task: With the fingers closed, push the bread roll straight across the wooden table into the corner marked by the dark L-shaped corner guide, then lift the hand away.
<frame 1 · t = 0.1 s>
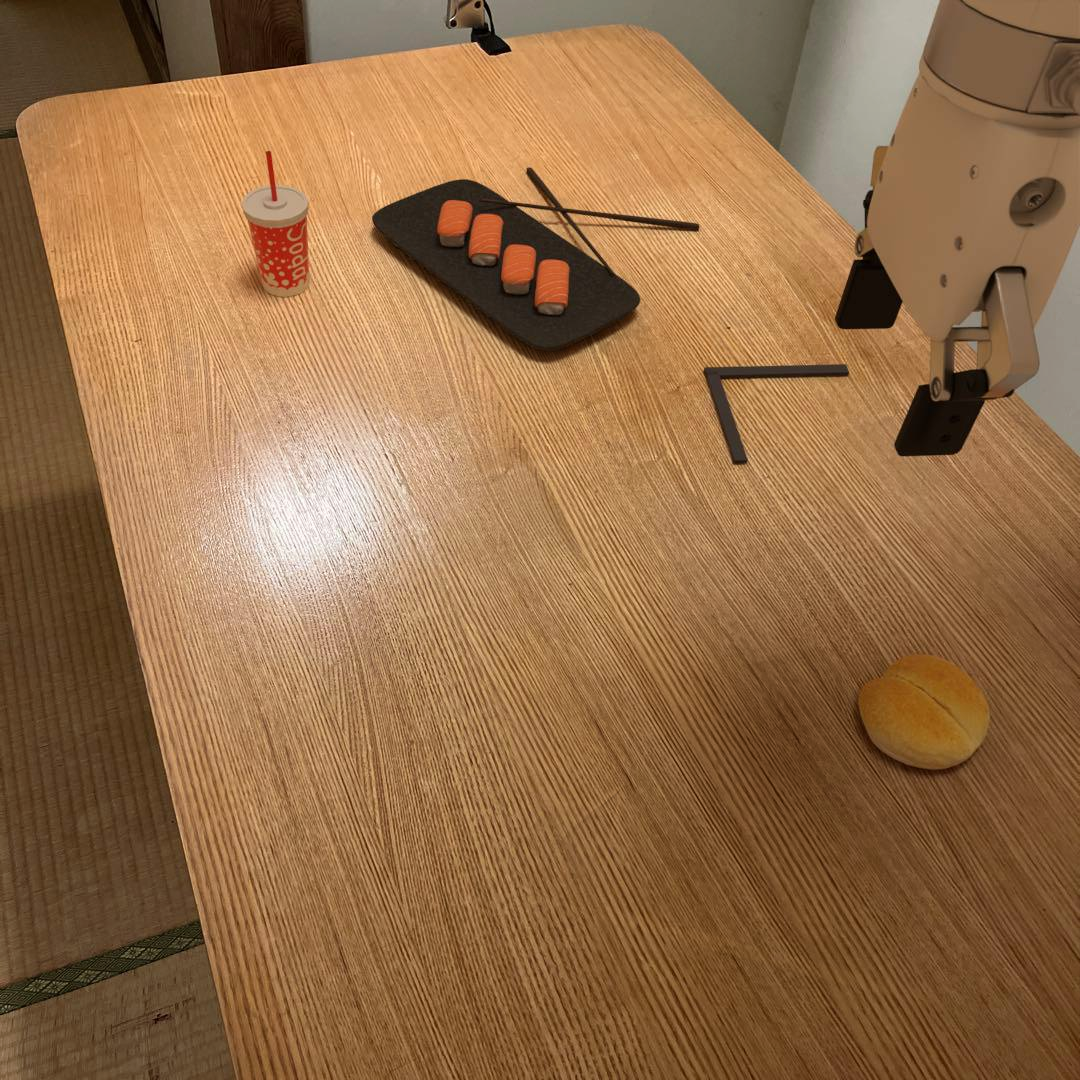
hand: (892, 385, 55), 30 cm above the table, tool pointing down, fingers open, 9 cm apart
corner guide: (799, 419, 98), on the table
sushi plate: (556, 248, 115), on the table
beverage cup: (286, 284, 107), on the table
bread roll: (917, 720, 78), on the table
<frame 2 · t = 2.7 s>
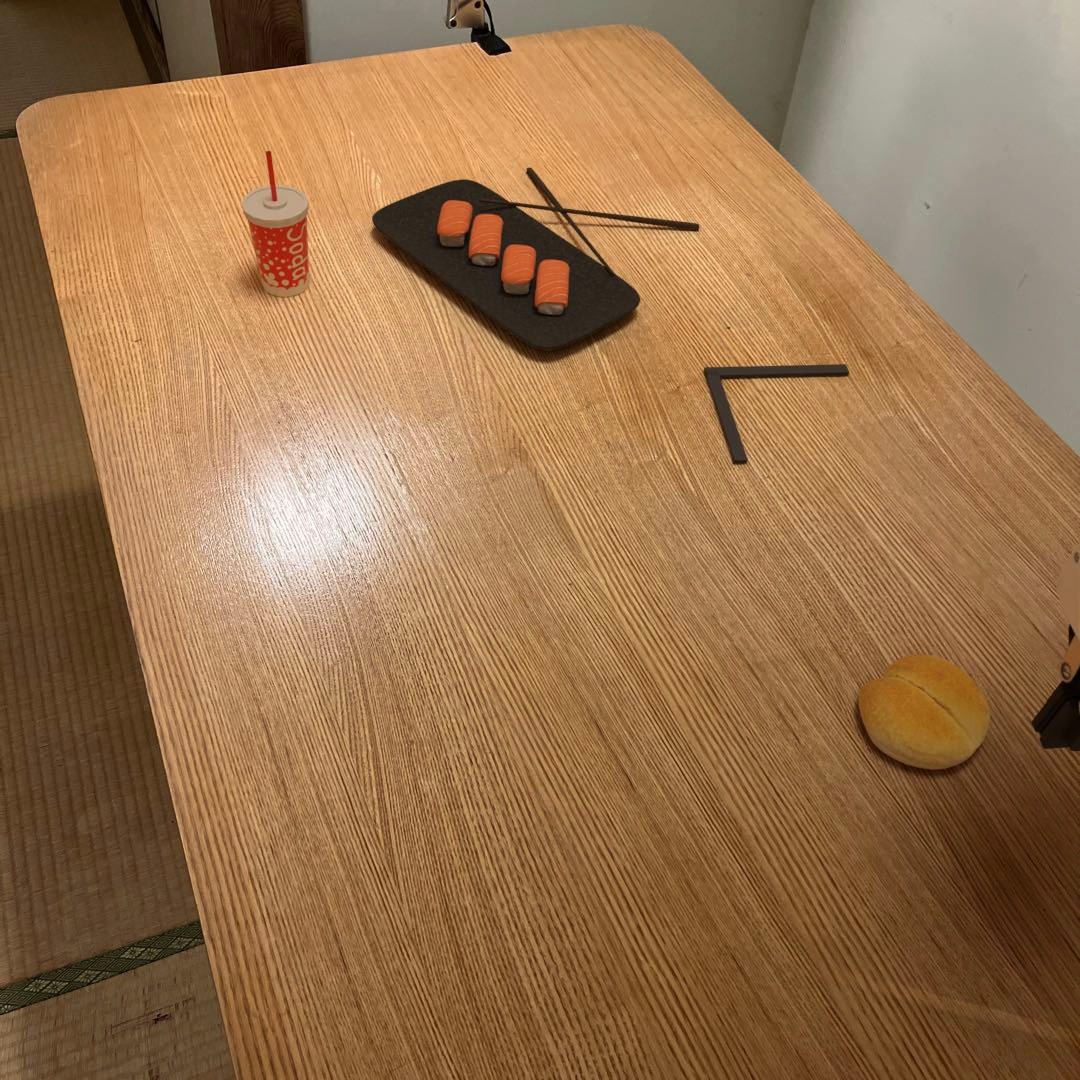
hand: (1061, 734, 60), 15 cm above the table, tool pointing down, fingers closed
nothing on the table moved.
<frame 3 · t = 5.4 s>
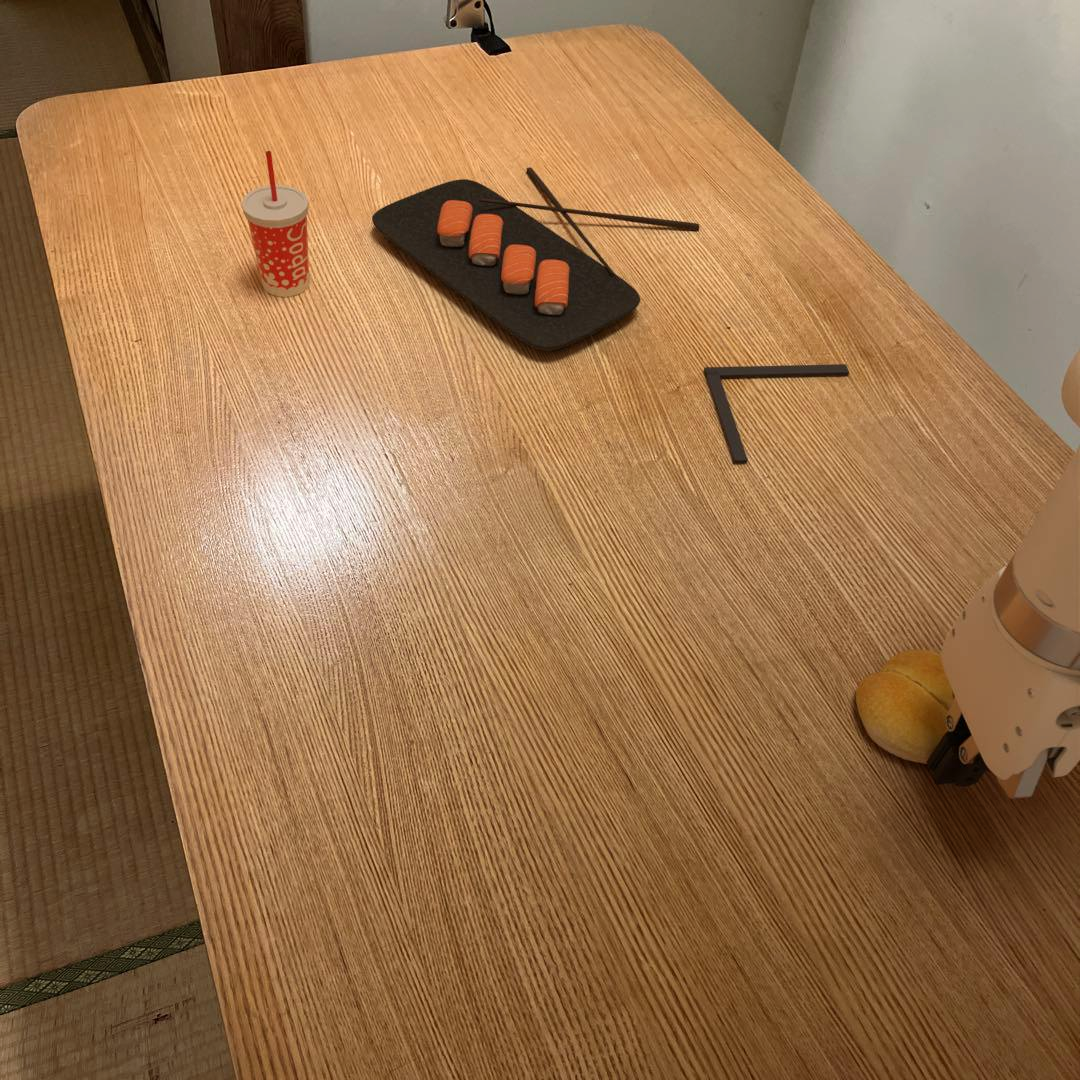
hand: (951, 772, 73), 2 cm above the table, tool pointing down, fingers closed
bread roll: (914, 716, 78), on the table, touching gripper
everything else where it was.
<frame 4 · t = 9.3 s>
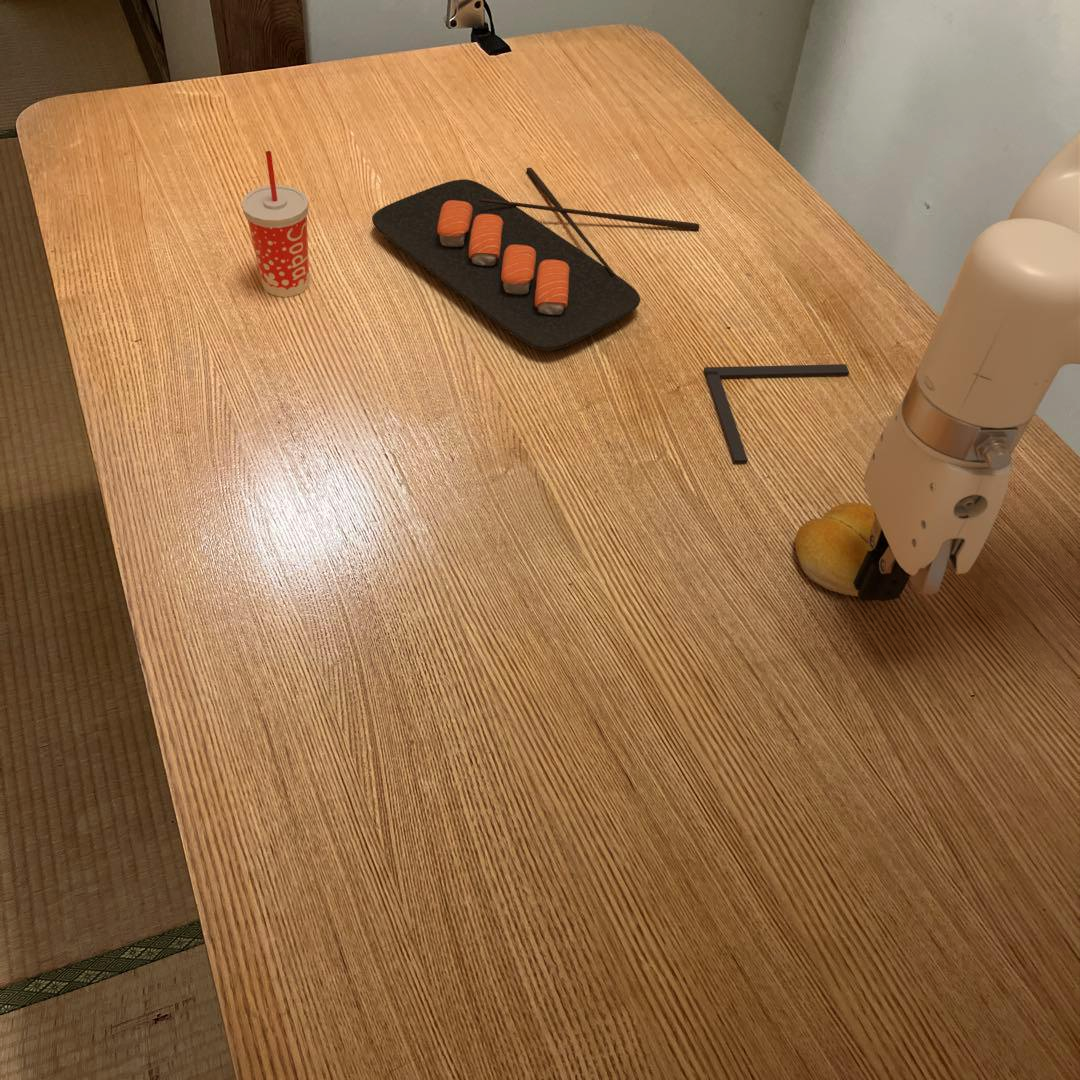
hand: (875, 591, 82), 2 cm above the table, tool pointing down, fingers closed
bread roll: (847, 560, 87), on the table, touching gripper
everything else where it was.
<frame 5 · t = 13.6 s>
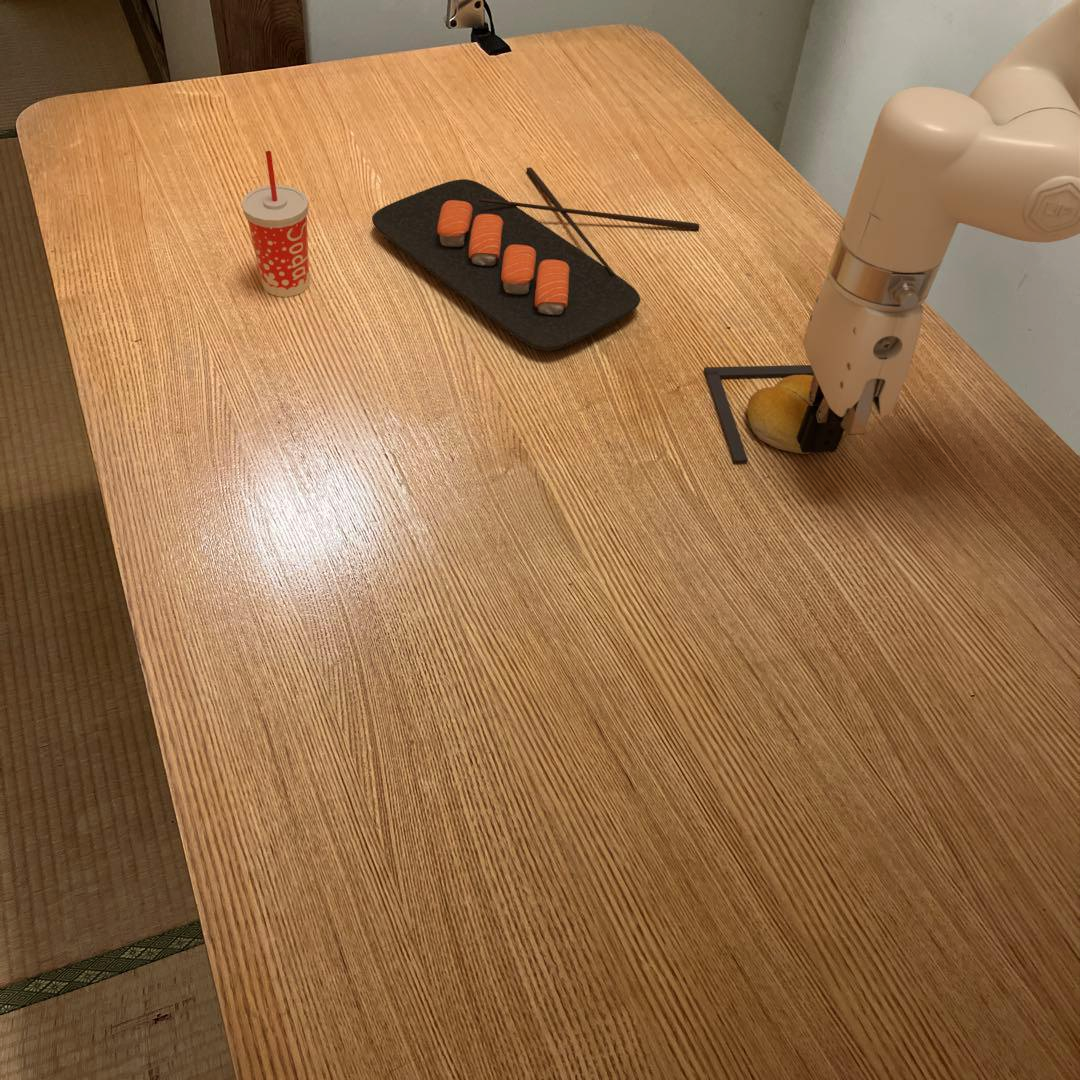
hand: (815, 445, 93), 2 cm above the table, tool pointing down, fingers closed
bread roll: (794, 425, 98), on the table, touching gripper
everything else where it was.
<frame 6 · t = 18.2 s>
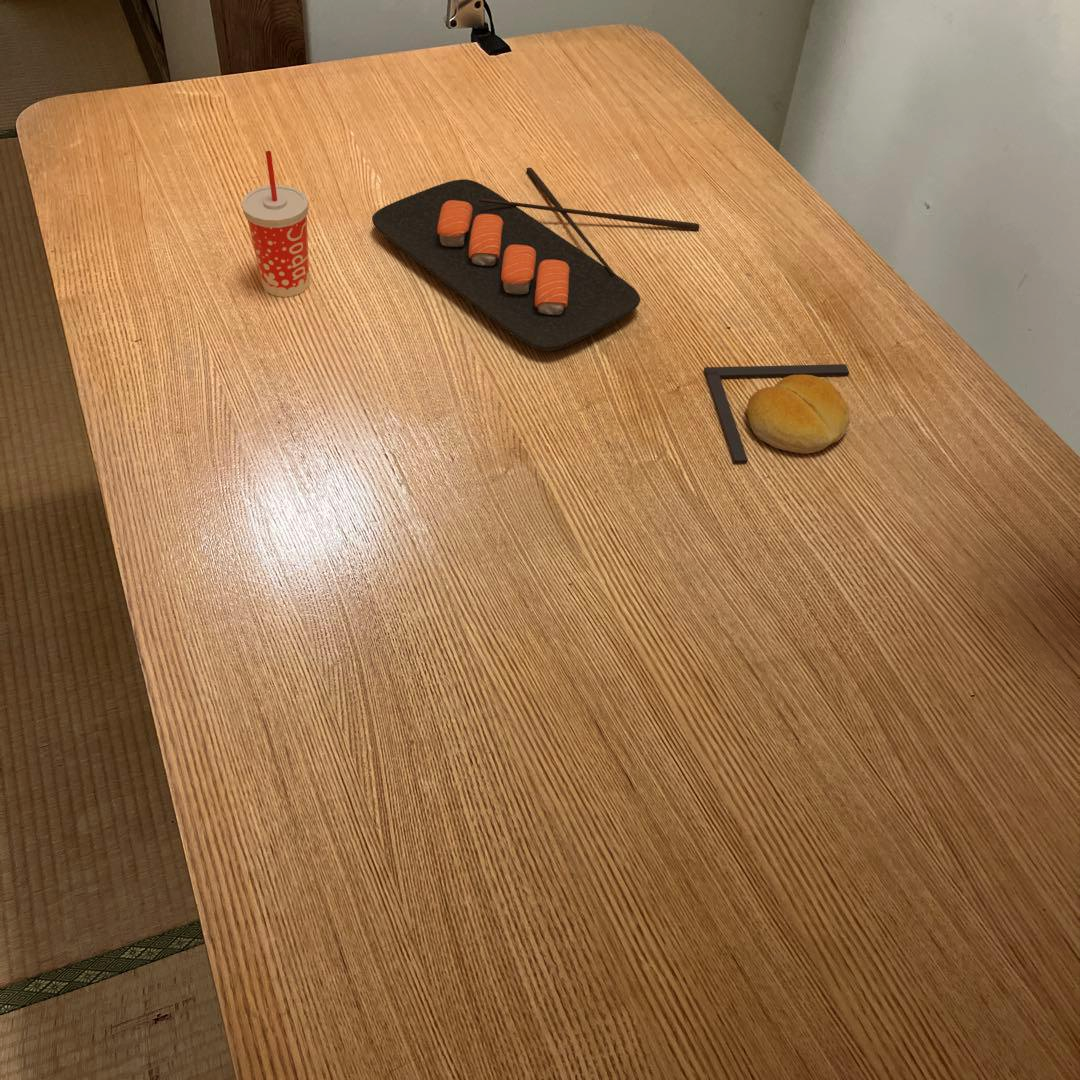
bread roll: (794, 425, 98), on the table
everything else where it was.
at the end: bread roll inside the target area on the corner guide (1.0 cm from its centre), point 0.0 cm above the corner guide's base; bread roll moved 31.4 cm from its start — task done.
